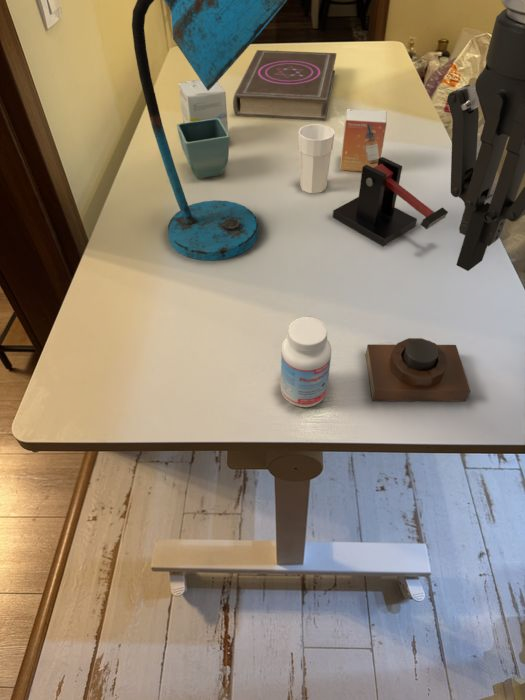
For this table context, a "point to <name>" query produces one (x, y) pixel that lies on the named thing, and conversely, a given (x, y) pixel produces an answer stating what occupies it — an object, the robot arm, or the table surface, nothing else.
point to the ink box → (202, 102)
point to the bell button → (420, 355)
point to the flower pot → (205, 146)
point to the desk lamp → (210, 65)
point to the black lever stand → (376, 206)
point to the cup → (315, 156)
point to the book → (286, 85)
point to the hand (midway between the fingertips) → (469, 262)
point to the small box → (362, 139)
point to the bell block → (415, 375)
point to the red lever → (413, 200)
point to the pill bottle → (305, 362)
